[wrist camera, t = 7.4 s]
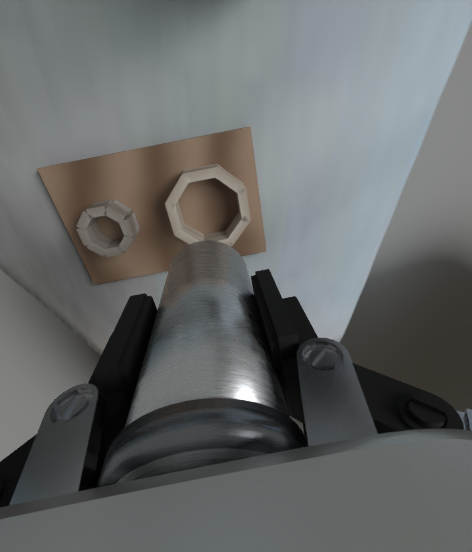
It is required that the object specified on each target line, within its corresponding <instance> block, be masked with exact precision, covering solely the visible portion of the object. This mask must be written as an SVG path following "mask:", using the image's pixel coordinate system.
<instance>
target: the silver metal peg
mask: <svg viewBox="0 0 472 552" xmlns="http://www.w3.org/2000/svg"><path fill="white" fill-rule="evenodd" d="M303 447H308V445H307V442H306V438H305V436H304V434H303V432H302V430H301V429H300V428H299V426H298V425H297V424H296V423H295V422H294V421H293V420H292V419H291V418H290V416H289V413H288V409H287V406H286V402H285V399H284V395H283V392H282V388H281V385H280V381H279V378H278V374H277V372H276V369H275V367H274V364H273V360H272V357H271V353H270V350H269V346H268V343H267V339H266V336H265V332H264V329H263V325H262V322H261V318H260V315H259V311H258V307H257V304H256V300H255V297H254V292H253V288H252V284H251V281H250V277H249V274H248V270H247V267H246V264H245V261H244V260H243V258H242V256H241V255H240V254H239V253H238V252H237V251H236V250H235V249H234V248H232V247H231V246H229V245H227V244H225V243H222V242H218V241H212V240H204V241H198V242H194V243H192V244H189V245H188V246H186V247H184V248H183V249H182V250H180V251H179V252H178V253H177V254H176V256H175V257H174V259H173V261H172V262H171V265H170V268H169V272H168V275H167V279H166V283H165V286H164V290H163V293H162V297H161V300H160V304H159V307H158V311H157V314H156V318H155V321H154V325H153V329H152V332H151V336H150V339H149V343H148V346H147V350H146V353H145V357H144V360H143V364H142V368H141V371H140V375H139V378H138V382H137V385H136V389H135V392H134V396H133V399H132V403H131V407H130V410H129V414H128V417H127V421H126V424H125V428H124V429H123V430H122V431H121V432H120V433H119V434H118V435H117V436H116V437H115V438H114V440H113V442H112V443H111V445H110V446H109V449H108V452H107V454H106V457H105V461H104V464H103V467H102V470H101V473H100V477H99V480H98V483H97V486H96V488H98V487H103V486H107V485H112V484H117V483H122V482H128V481H133V480H138V479H143V478H148V477H153V476H158V475H163V474H168V473H173V472H178V471H183V470H188V469H194V468H199V467H204V466H209V465H214V464H219V463H224V462H229V461H235V460H240V459H245V458H250V457H256V456H261V455H266V454H271V453H277V452H282V451H287V450H292V449H298V448H303Z"/></svg>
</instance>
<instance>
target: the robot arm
mask: <svg viewBox="0 0 472 552" xmlns="http://www.w3.org/2000/svg"><path fill="white" fill-rule="evenodd" d="M255 273H256V275H254V276H251V280H252V286H253V292H254V297H255V300H256V304H257V307H258V311H259V315H260V318H261V322H262V325H263V329H264V332H265V336H266V339H267V343H268V346H269V350H270V353H271V357H272V360H273V364H274V367H275V369H276V372H277V374H278V378H279V381H280V385H281V388H282V392H283V395H284V399H285V402H286V406H287V409H288V413H289V416H292V417H293V418H295V419H297V420H299V421H300V422H302V423H303V432H304V436H305V438H306V442H307V445H308V447H303V448H298V449H292V450H287V451H282V452H277V453H271V454H266V455H261V456H256V457H250V458H245V459H240V460H235V461H229V462H224V463H219V464H214V465H209V466H204V467H199V468H194V469H188V470H183V471H178V472H173V473H168V474H163V475H158V476H153V477H148V478H143V479H138V480H133V481H128V482H122V483H117V484H112V485H107V486H103V487H98V488H96V486H97V483H98V480H99V477H100V473H101V470H102V467H103V464H104V461H105V457H106V454H107V452H108V449H109V446H110V445H111V443H112V442H113V440H114V438H115V437H116V436H117V435H118V434H119V433H120V432H121V431H122V430H123V429H124V428H125V424H126V421H127V417H128V414H129V410H130V407H131V403H132V399H133V396H134V392H135V389H136V385H137V382H138V378H139V375H140V371H141V368H142V364H143V360H144V357H145V353H146V350H147V346H148V343H149V339H150V336H151V332H152V329H153V325H154V321H155V318H156V314H157V308H156V306H155V303H154V300H153V298H152V297H151V296H147V295H146V294H145V293H144V294H139V295H134V296H130V298H129V300H128V302H127V304H126V306H125V308H124V310H123V313H122V315H121V317H120V319H119V321H118V323H117V325H116V327H115V329H114V332H113V333H112V335H111V336H110V338H109V341H108V343H107V345H106V347H105V349H104V351H103V353H102V355H101V357H100V359H99V362H98V364H97V366H96V368H95V370H94V372H93V374H92V376H91V378H90V380H89V383H88V384H87V383H86V384H80V385H77V386H74V387H72V388H70V389H68V390H66V391H65V392H63V393H62V394H61V395H59V396H58V397H57V398H56V399H55V400H54V401H53V402H52V403H51V405H50V406H49V407H48V409H47V411H46V413H45V415H44V418H43V420H42V422H41V425H40V428H39V430H38V433H37V434H36V435H35V436H34V437H32V438H31V439H30V440H28V441H27V442H26V443H24V444H23V445H22V446H20V447H19V448H18V449H17V450H15V451H14V452H13V453H11V454H10V455H9V456H7V457H6V458H5V459H3V460H2V461H1V462H0V552H472V410H470V409H466V412H465V413H463V412H459V411H456V410H455V409H454V408H453V407H452V406H451V405H450V404H449V403H447V402H446V401H444V400H443V399H442V398H440V397H438V396H436V395H434V394H432V393H429V392H427V391H424V390H421V389H419V388H416V387H414V386H411V385H408V384H406V383H403V382H401V381H398V380H395V379H393V378H390V377H387V376H385V375H382V374H380V373H377V372H374V371H372V370H369V369H367V368H364V367H361V366H359V365H356V364H354V363H352V361H351V358H350V355H349V353H348V351H347V350H346V348H345V347H344V346H343V345H341V344H340V343H338V342H336V341H334V340H332V339H328V338H318V337H317V335H316V333H315V331H314V329H313V327H312V325H311V324H310V322H309V320H308V318H307V316H306V314H305V312H304V311H303V309H302V307H301V305H300V303H299V301H298V299H297V298H296V297H295V296H294V297H289V298H284V299H282V297H281V295H280V293H279V290H278V288H277V286H276V284H275V281H274V279H273V277H272V275H271V272H270V270H269V269H267V270H261V271H256V272H255Z"/></svg>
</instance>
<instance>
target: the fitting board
mask: <svg viewBox="0 0 472 552" xmlns="http://www.w3.org/2000/svg"><path fill="white" fill-rule="evenodd" d="M37 170H38V172H39V174H40V176H41V178H42V180H43V182H44V184H45V186H46V188H47V190H48V192H49V194H50V196H51V198H52V200H53V202H54V204H55V206H56V208H57V210H58V212H59V214H60V216H61V218H62V220H63V222H64V224H65V226H66V228H67V230H68V232H69V234H70V237H71V239H72V241H73V243H74V245H75V247H76V249H77V251H78V253H79V255H80V257H81V259H82V261H83V263H84V265H85V267H86V269H87V271H88V273H89V275H90V277H91V279H92V281H93V283H94V285H97V284H102V283H107V282H112V281H117V280H123V279H128V278H133V277H138V276H143V275H148V274H153V273H158V272H163V271H168V270H169V268H170V265H171V262H172V261H173V259H174V257H175V256H176V254H177V253H178V252H179V251H180V250H182V249H183V248H184V247H186V246H188V245H189V244H192V243H194V242H198V241H204V240H212V241H218V242H222V243H225V244H227V245H229V246H231V247H232V248H234V249H235V250H236V251H237V252H238V253H239V254H240V255H241V256H245V255H250V254H255V253H260V252H265V251H266V244H265V236H264V229H263V221H262V213H261V205H260V197H259V190H258V182H257V174H256V166H255V159H254V151H253V143H252V135H251V127H245V128H240V129H235V130H230V131H225V132H220V133H215V134H210V135H205V136H200V137H195V138H190V139H185V140H180V141H175V142H170V143H164V144H159V145H154V146H149V147H144V148H139V149H134V150H129V151H124V152H119V153H114V154H109V155H104V156H99V157H94V158H88V159H83V160H78V161H73V162H68V163H63V164H58V165H53V166H48V167H43V168H38V169H37Z"/></svg>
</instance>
